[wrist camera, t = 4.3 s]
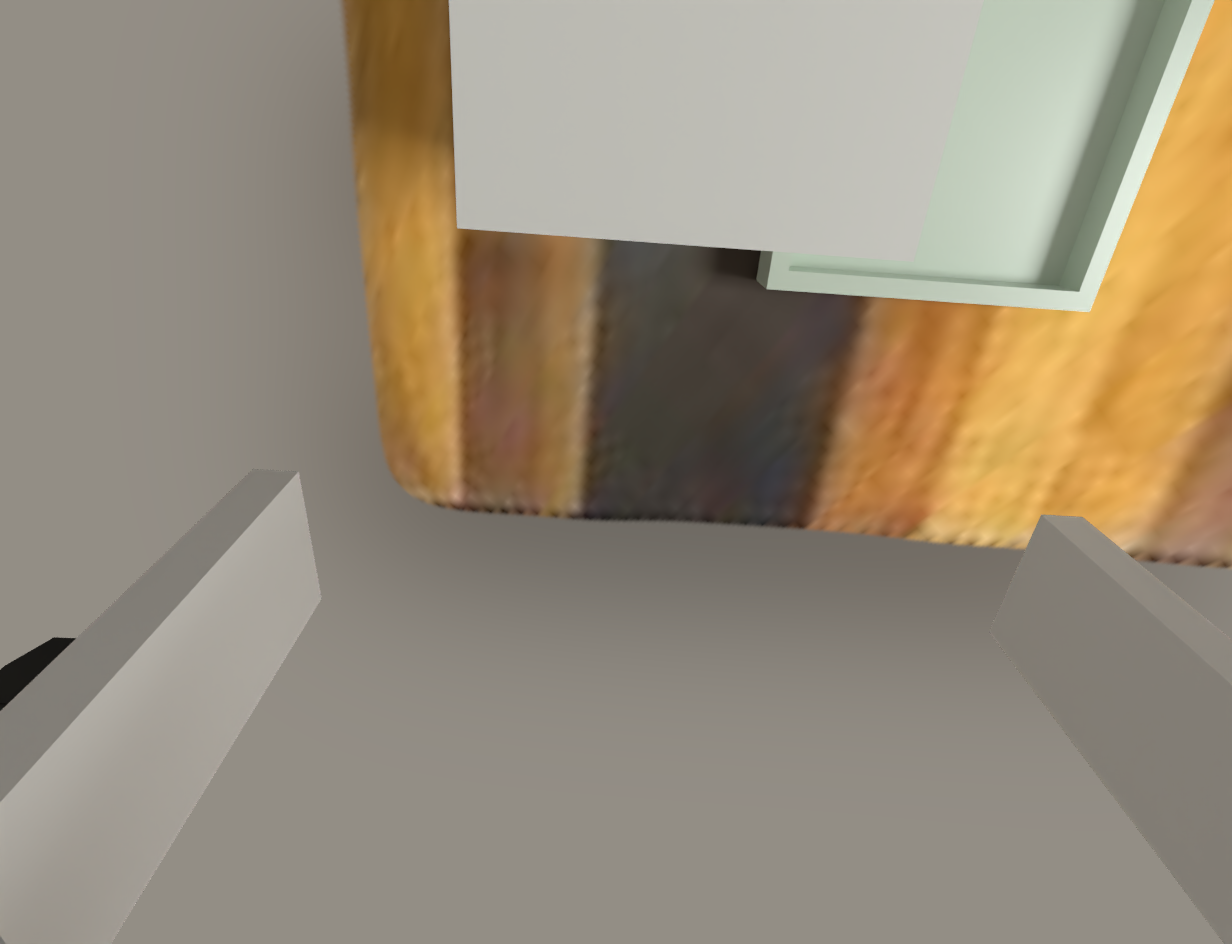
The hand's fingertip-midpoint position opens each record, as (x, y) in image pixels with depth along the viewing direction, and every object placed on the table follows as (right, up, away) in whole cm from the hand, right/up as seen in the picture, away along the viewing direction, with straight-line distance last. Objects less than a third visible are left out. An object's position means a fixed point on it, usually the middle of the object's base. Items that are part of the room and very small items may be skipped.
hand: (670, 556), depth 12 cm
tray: (+11, +14, +11) cm, 21 cm away
